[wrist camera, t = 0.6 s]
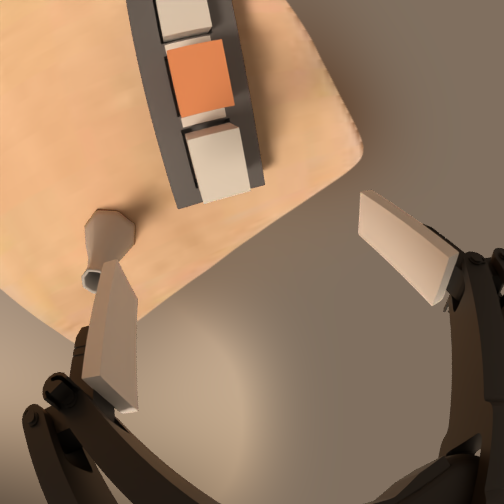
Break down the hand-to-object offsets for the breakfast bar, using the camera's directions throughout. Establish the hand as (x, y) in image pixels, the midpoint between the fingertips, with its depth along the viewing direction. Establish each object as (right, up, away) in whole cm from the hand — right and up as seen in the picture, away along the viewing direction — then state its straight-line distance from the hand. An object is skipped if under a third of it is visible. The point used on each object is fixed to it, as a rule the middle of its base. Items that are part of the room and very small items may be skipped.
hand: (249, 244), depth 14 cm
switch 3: (-4, +9, +12) cm, 16 cm away
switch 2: (-5, +15, +8) cm, 18 cm away
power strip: (-7, +21, +10) cm, 24 cm away
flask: (-18, +2, +19) cm, 26 cm away
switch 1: (-7, +23, +6) cm, 25 cm away
